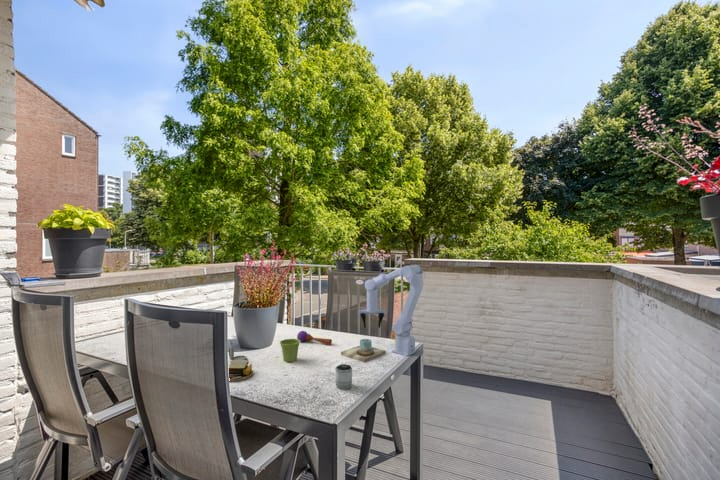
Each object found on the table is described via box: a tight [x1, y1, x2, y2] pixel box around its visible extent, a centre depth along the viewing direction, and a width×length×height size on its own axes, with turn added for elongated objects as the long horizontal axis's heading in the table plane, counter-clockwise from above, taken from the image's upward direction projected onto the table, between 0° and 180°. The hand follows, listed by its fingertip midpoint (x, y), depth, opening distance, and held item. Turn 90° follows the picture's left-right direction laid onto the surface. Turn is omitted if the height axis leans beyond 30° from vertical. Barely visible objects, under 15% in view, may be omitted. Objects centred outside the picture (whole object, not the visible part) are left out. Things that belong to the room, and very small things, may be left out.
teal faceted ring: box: [359, 338, 373, 349], centre depth 173 cm, size 6×6×4 cm
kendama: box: [296, 330, 333, 346], centre depth 188 cm, size 6×6×20 cm
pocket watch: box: [228, 339, 248, 361], centre depth 160 cm, size 8×8×10 cm
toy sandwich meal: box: [228, 359, 254, 382], centre depth 142 cm, size 12×14×5 cm
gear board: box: [340, 340, 387, 363], centre depth 169 cm, size 15×16×6 cm
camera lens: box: [335, 363, 353, 391], centre depth 132 cm, size 6×6×8 cm
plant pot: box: [279, 338, 301, 363], centre depth 161 cm, size 9×9×9 cm
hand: (372, 327), depth 184 cm, fingers open, 7 cm apart
